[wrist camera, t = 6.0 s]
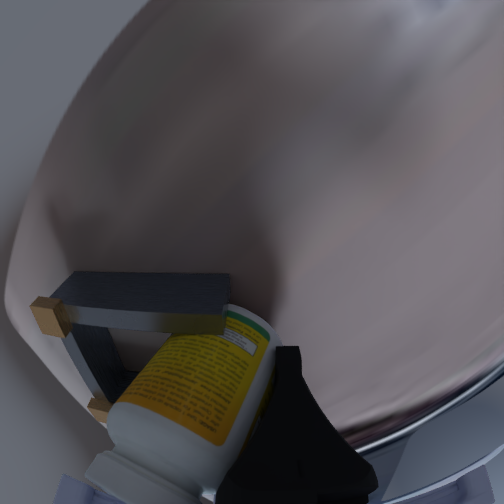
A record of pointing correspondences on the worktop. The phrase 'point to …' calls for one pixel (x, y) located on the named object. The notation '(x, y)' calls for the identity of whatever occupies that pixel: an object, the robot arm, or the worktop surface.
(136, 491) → the supplement bottle
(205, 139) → the worktop surface
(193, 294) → the docking mount
